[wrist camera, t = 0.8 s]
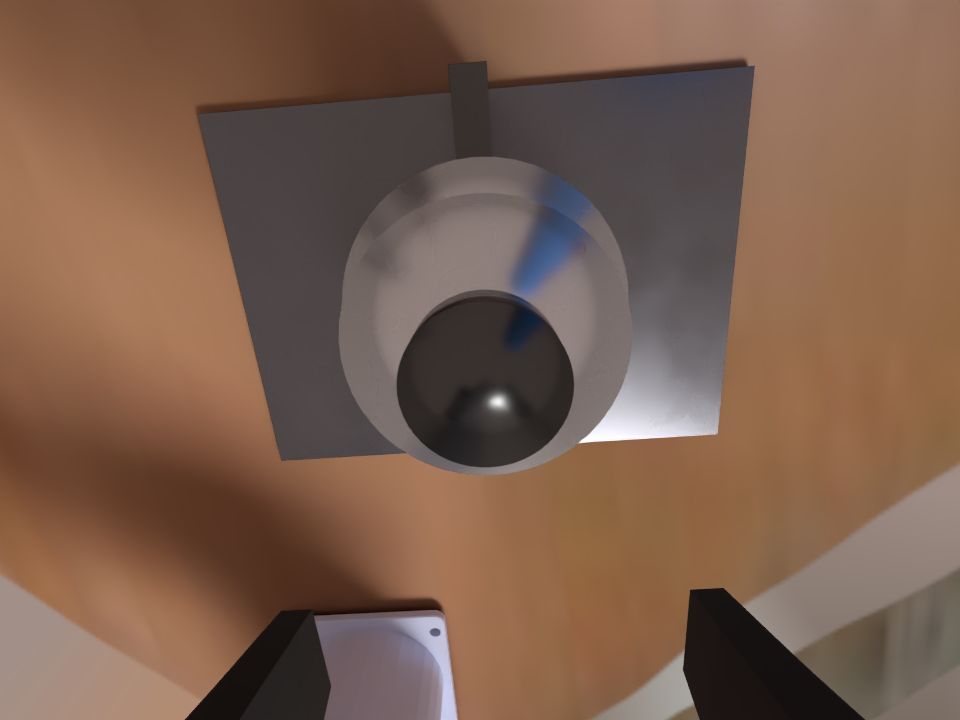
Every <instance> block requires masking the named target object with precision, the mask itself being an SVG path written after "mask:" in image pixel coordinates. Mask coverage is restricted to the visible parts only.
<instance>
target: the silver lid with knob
mask: <svg viewBox="0 0 960 720" xmlns="http://www.w3.org/2000/svg"><path fill="white" fill-rule="evenodd" d="M631 347H632V318H631V313H630V307H629V301H628V298H627V295H626V292H625V289H624V286H623V283H622V281H621V279H620V277H619V274H618V272H617V270H616V268H615V266H614V265H613V263H612V262H611V260H610V259H609V257H608V256H607V254H606V253H605V251H604V250H603V248H602V247H601V246H600V245H599V244H598V243H597V242H596V241H595V240H594V238H593V237H592V236H591V235H590V234H589V233H588V232H586V231H585V230H584V229H583V228H582V227H580V226H579V225H578V224H577V223H576V222H574V221H573V220H572V219H570V218H568V217H567V216H565V215H563V214H562V213H560V212H558V211H557V210H555V209H553V208H550V207H548V206H546V205H544V204H541V203H539V202H537V201H533V200H530V199H526V198H522V197H519V196H514V195H507V194H499V193H471V194H465V195H458V196H452V197H448V198H445V199H442V200H438V201H435V202H432V203H430V204H427V205H425V206H423V207H421V208H419V209H416V210H414V211H412V212H411V213H409V214H408V215H406V216H405V217H403V218H401V219H400V220H398V221H397V222H395V223H394V224H393V225H392V226H391V227H389V228H388V229H387V230H386V231H385V232H384V233H382V234H381V235H380V236H379V237H378V238H377V240H376V241H375V242H374V243H373V244H372V245H371V246H370V248H369V249H368V250H367V251H366V253H365V254H364V256H363V257H362V259H361V260H360V262H359V263H358V265H357V266H356V268H355V270H354V272H353V275H352V277H351V279H350V281H349V283H348V285H347V289H346V292H345V295H344V298H343V302H342V306H341V313H340V319H339V348H340V357H341V362H342V366H343V370H344V374H345V377H346V380H347V382H348V385H349V387H350V390H351V392H352V394H353V396H354V398H355V399H356V401H357V403H358V405H359V407H360V408H361V410H362V411H363V413H364V414H365V415H366V417H367V418H368V419H369V421H370V422H371V423H372V424H373V425H374V426H375V427H376V428H377V430H378V431H379V432H380V433H381V434H382V435H383V436H384V437H386V438H387V439H388V440H389V441H390V442H392V443H393V444H394V445H395V446H397V447H398V448H400V449H401V450H403V451H404V452H406V453H407V454H409V455H410V456H412V457H414V458H416V459H419V460H421V461H423V462H425V463H427V464H430V465H432V466H435V467H438V468H441V469H444V470H449V471H453V472H457V473H464V474H473V475H498V474H507V473H514V472H518V471H522V470H526V469H530V468H533V467H535V466H538V465H541V464H544V463H546V462H548V461H550V460H552V459H554V458H556V457H558V456H560V455H562V454H563V453H565V452H566V451H568V450H569V449H571V448H573V447H574V446H576V445H577V444H578V443H579V442H580V441H581V440H583V439H584V438H585V437H586V436H587V435H589V434H590V433H591V431H592V430H593V429H594V428H595V427H596V426H597V425H598V424H599V423H600V422H601V420H602V419H603V418H604V416H605V415H606V414H607V412H608V411H609V409H610V408H611V407H612V405H613V403H614V401H615V399H616V397H617V395H618V394H619V392H620V389H621V387H622V384H623V382H624V379H625V376H626V374H627V369H628V365H629V361H630V357H631Z"/></svg>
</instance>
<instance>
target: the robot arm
mask: <svg viewBox="0 0 960 720" xmlns="http://www.w3.org/2000/svg"><path fill="white" fill-rule="evenodd" d="M433 628H437V629H433ZM683 671H684V674H685V677H686V680H687V683H688V686H689V689H690V692H691V695H692V698H693V701H694V704H695V707H696V710H697V713H698V716H699V719H700V720H865V719H864V718H863V717H861V716H860V715H859V714H858V713H857V712H856V711H855V710H854V709H853V708H851V707H850V706H849V705H848V704H847V703H846V702H845V701H844V700H843V699H841V698H840V697H839V696H838V695H837V694H836V693H835V692H834V691H833V690H831V689H830V688H829V687H828V686H827V685H826V684H825V683H824V682H823V681H821V680H820V679H819V678H818V677H817V676H816V675H815V674H814V673H813V672H812V671H811V670H809V669H808V668H807V667H806V666H805V665H804V664H803V663H802V662H801V661H800V660H799V659H798V658H797V657H796V656H794V655H793V654H792V653H791V652H790V651H789V650H788V649H787V648H786V647H785V646H784V645H783V644H782V643H781V642H780V641H779V640H777V639H776V638H775V637H774V636H773V635H772V634H771V633H770V632H769V631H768V630H767V629H766V628H765V627H764V626H763V625H762V624H761V623H760V622H759V621H758V620H756V619H755V618H754V617H753V616H752V615H751V614H750V613H749V612H748V611H747V610H746V609H745V608H744V607H743V606H742V605H741V604H740V603H739V602H738V601H737V600H736V599H734V598H733V597H732V596H731V595H730V594H729V593H728V592H727V591H726V590H725V589H724V588H716V589H696V590H690V598H689V609H688V620H687V632H686V643H685V654H684V665H683ZM185 720H458V714H457V706H456V698H455V690H454V683H453V675H452V667H451V659H450V651H449V644H448V636H447V628H446V620H445V616H444V614H443V613H442V612H440V611H438V610H421V611H401V612H381V613H361V614H341V615H321V616H314V615H313V610H312V609H311V610H292V611H281V612H280V613H279V614H278V615H277V616H276V617H275V619H274V620H273V621H272V622H271V623H270V624H269V625H268V626H267V627H266V629H265V630H264V631H263V632H262V633H261V634H260V635H259V637H258V638H257V639H256V640H255V641H254V642H253V643H252V645H251V646H250V647H249V648H248V649H247V650H246V651H245V653H244V654H243V655H242V656H241V657H240V658H239V659H238V661H237V662H236V663H235V664H234V665H233V666H232V667H231V669H230V670H229V671H228V672H227V673H226V674H225V675H224V677H223V678H222V679H221V680H220V681H219V682H218V683H217V685H216V686H215V687H214V688H213V689H212V690H211V691H210V692H209V693H208V695H207V696H206V697H205V698H204V699H203V700H202V701H201V702H200V703H199V705H198V706H197V707H196V708H195V709H194V710H193V711H192V712H191V714H189V716H188V717H187V718H186V719H185Z"/></svg>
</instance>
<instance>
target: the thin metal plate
mask: <svg viewBox="0 0 960 720" xmlns="http://www.w3.org/2000/svg"><path fill="white" fill-rule="evenodd" d="M754 67H755V66H748V67H737V68H725V69H714V70H702V71H691V72H679V73H668V74H656V75H645V76H633V77H622V78H610V79H599V80H587V81H576V82H564V83H552V84H541V85H529V86H518V87H506V88H495V89H488V80H487V63H486V61H482V62H471V63H459V64H448V70H449V82H450V92H449V93H437V94H426V95H414V96H403V97H391V98H380V99H368V100H356V101H345V102H333V103H322V104H310V105H299V106H287V107H276V108H264V109H253V110H241V111H230V112H218V113H207V114H198V118H199V122H200V126H201V131H202V135H203V139H204V143H205V147H206V151H207V155H208V159H209V164H210V168H211V172H212V176H213V180H214V184H215V188H216V192H217V197H218V201H219V205H220V209H221V213H222V217H223V221H224V226H225V230H226V234H227V238H228V242H229V246H230V250H231V254H232V259H233V263H234V267H235V271H236V275H237V279H238V283H239V288H240V292H241V296H242V300H243V304H244V308H245V312H246V316H247V321H248V325H249V329H250V333H251V337H252V341H253V345H254V349H255V354H256V358H257V362H258V366H259V370H260V374H261V378H262V383H263V387H264V391H265V395H266V399H267V403H268V407H269V411H270V416H271V420H272V424H273V428H274V432H275V436H276V440H277V444H278V449H279V453H280V457H281V461H285V460H302V459H318V458H334V457H351V456H367V455H384V454H400V453H406V452H404V451H403V450H401V449H400V448H398V447H397V446H395V445H394V444H393V443H392V442H390V441H389V440H388V439H387V438H386V437H384V436H383V435H382V434H381V433H380V432H379V431H378V430H377V428H376V427H375V426H374V425H373V424H372V423H371V422H370V421H369V419H368V418H367V417H366V415H365V414H364V413H363V411H362V410H361V408H360V407H359V405H358V403H357V401H356V399H355V398H354V396H353V394H352V392H351V390H350V387H349V385H348V382H347V380H346V377H345V374H344V370H343V366H342V362H341V357H340V348H339V319H340V313H341V306H342V302H343V298H344V295H345V292H346V289H347V285H348V283H349V281H350V279H351V277H352V275H353V272H354V270H355V268H356V266H357V265H358V263H359V262H360V260H361V259H362V257H363V256H364V254H365V253H366V251H367V250H368V249H369V248H370V246H371V245H372V244H373V243H374V242H375V241H376V240H377V238H378V237H379V236H380V235H381V234H382V233H384V232H385V231H386V230H387V229H388V228H389V227H391V226H392V225H393V224H394V223H395V222H397V221H398V220H400V219H401V218H403V217H405V216H406V215H408V214H409V213H411V212H412V211H414V210H416V209H419V208H421V207H423V206H425V205H427V204H430V203H432V202H435V201H438V200H442V199H445V198H448V197H452V196H458V195H465V194H471V193H499V194H507V195H514V196H519V197H522V198H526V199H530V200H533V201H537V202H539V203H541V204H544V205H546V206H548V207H550V208H553V209H555V210H557V211H558V212H560V213H562V214H563V215H565V216H567V217H568V218H570V219H572V220H573V221H574V222H576V223H577V224H578V225H579V226H580V227H582V228H583V229H584V230H585V231H586V232H588V233H589V234H590V235H591V236H592V237H593V238H594V240H595V241H596V242H597V243H598V244H599V245H600V246H601V247H602V248H603V250H604V251H605V253H606V254H607V256H608V257H609V259H610V260H611V262H612V263H613V265H614V266H615V268H616V270H617V272H618V274H619V277H620V279H621V281H622V283H623V286H624V289H625V292H626V295H627V298H628V301H629V307H630V313H631V318H632V347H631V357H630V361H629V365H628V369H627V374H626V376H625V379H624V382H623V384H622V387H621V389H620V392H619V394H618V395H617V397H616V399H615V401H614V403H613V405H612V407H611V408H610V409H609V411H608V412H607V414H606V415H605V416H604V418H603V419H602V420H601V422H600V423H599V424H598V425H597V426H596V427H595V428H594V429H593V430H592V431H591V433H590V434H589V435H587V436H586V437H585V438H584V439H583V440H581V441H580V442H596V441H613V440H629V439H646V438H662V437H678V436H695V435H711V434H717V432H718V422H719V412H720V403H721V393H722V383H723V373H724V363H725V353H726V343H727V334H728V324H729V314H730V304H731V294H732V284H733V274H734V265H735V255H736V245H737V235H738V225H739V215H740V205H741V196H742V186H743V176H744V166H745V156H746V146H747V136H748V126H749V117H750V107H751V97H752V87H753V77H754ZM580 442H579V443H580Z"/></svg>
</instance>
